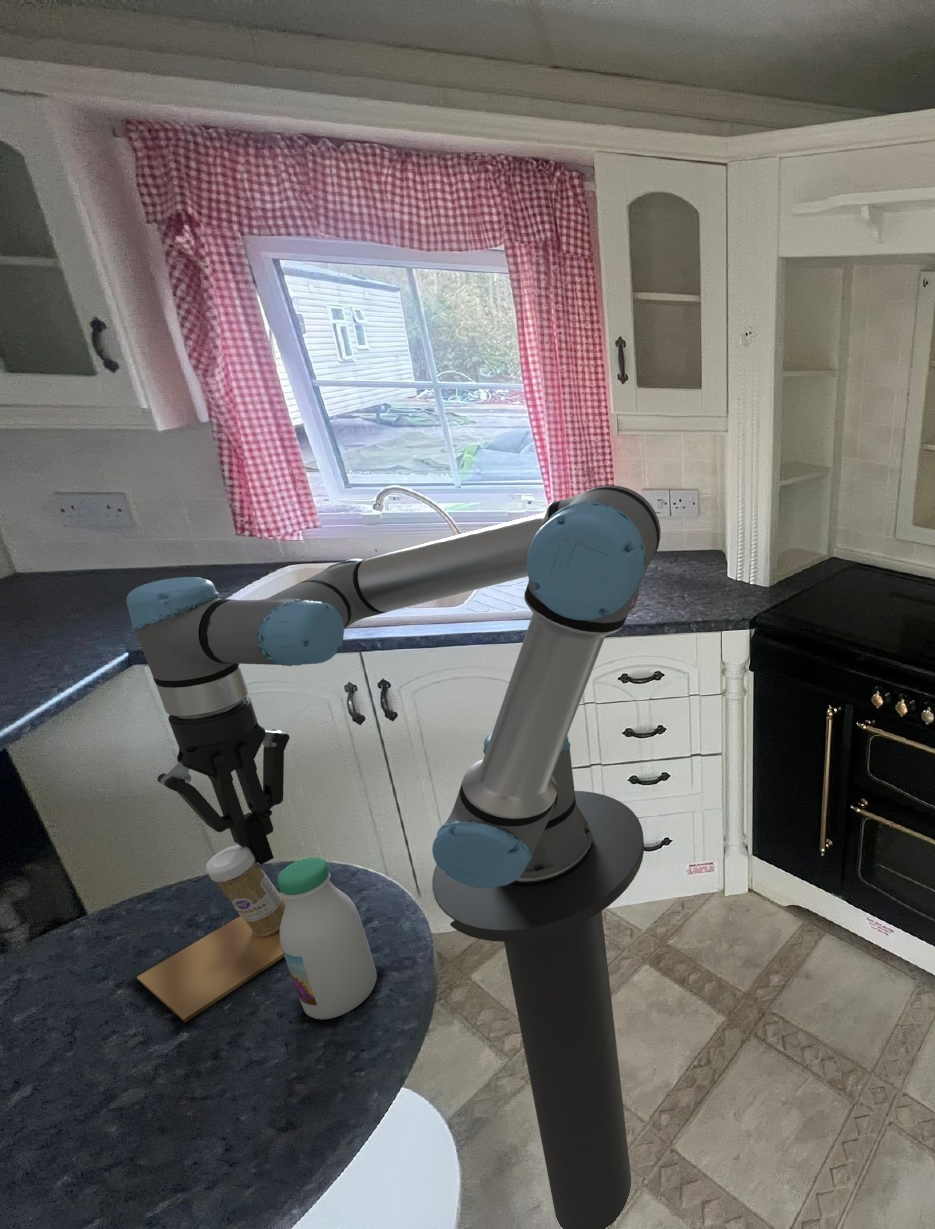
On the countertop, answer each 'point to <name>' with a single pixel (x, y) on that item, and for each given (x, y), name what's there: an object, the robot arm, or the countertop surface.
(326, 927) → the milk bottle
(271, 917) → the sprinkles bottle
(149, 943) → the countertop surface
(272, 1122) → the countertop surface
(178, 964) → the cork mat
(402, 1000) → the countertop surface
